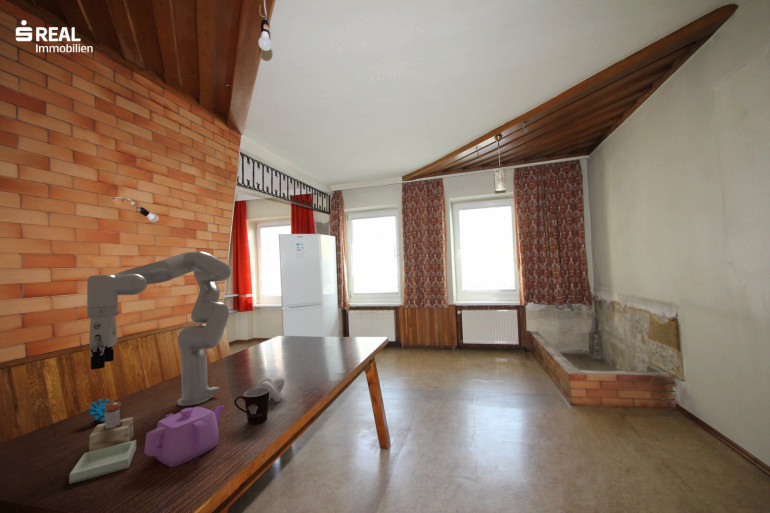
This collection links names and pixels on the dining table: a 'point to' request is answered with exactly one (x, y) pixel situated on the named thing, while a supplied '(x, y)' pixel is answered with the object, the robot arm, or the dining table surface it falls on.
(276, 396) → the grey torus knot
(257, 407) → the coffee mug
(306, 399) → the dining table surface
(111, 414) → the metal peg
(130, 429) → the socket block
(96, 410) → the gear
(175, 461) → the teakettle
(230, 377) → the dining table surface
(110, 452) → the tray
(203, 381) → the robot arm
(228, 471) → the dining table surface
